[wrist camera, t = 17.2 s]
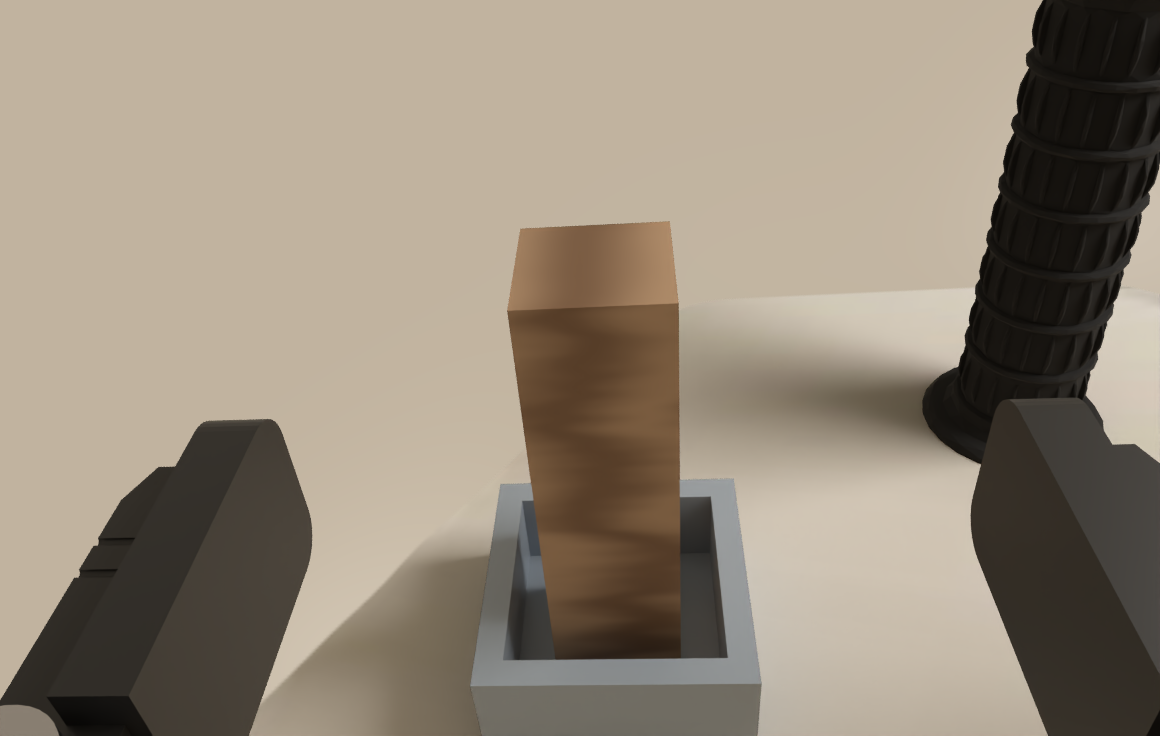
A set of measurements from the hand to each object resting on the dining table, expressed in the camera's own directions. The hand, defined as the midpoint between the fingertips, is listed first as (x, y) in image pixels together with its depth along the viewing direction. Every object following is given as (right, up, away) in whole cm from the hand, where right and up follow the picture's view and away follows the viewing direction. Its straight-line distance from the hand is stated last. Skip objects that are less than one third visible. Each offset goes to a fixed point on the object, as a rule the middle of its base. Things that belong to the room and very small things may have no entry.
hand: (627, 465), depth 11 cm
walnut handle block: (+1, -11, +33) cm, 35 cm away
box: (+1, -12, +34) cm, 36 cm away
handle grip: (+25, -2, +45) cm, 52 cm away
